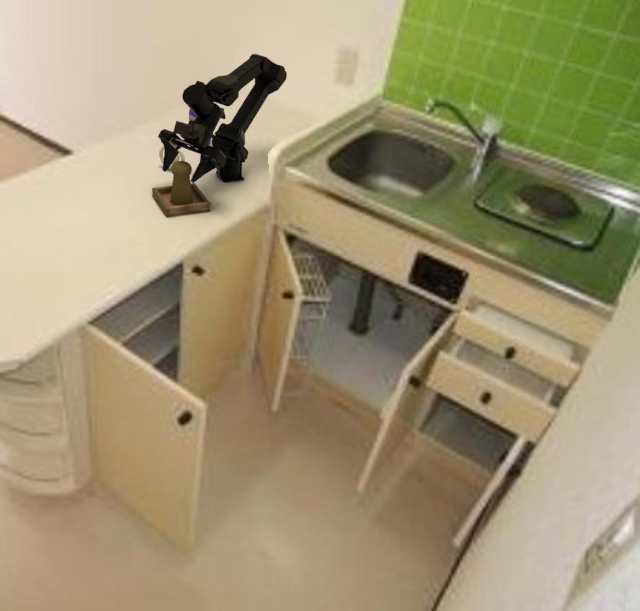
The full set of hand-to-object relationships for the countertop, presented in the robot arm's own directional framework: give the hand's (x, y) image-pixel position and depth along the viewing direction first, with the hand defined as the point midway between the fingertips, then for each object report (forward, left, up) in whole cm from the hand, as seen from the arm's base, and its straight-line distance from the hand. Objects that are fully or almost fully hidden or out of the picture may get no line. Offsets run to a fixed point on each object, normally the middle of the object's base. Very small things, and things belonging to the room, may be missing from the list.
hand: (177, 176), depth 167 cm
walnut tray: (-1, -1, -9) cm, 9 cm away
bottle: (-20, -38, -9) cm, 44 cm away
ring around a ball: (-6, -22, -9) cm, 24 cm away
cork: (-1, -1, -8) cm, 8 cm away
